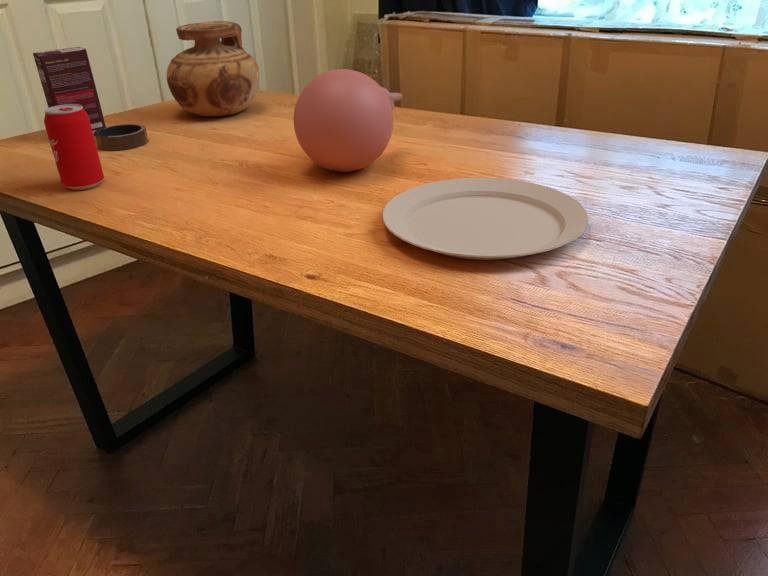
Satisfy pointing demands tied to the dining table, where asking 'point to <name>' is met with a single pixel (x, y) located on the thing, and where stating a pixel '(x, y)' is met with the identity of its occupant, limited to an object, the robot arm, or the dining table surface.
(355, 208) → the dining table surface
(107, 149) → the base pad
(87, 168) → the beverage can
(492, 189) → the plate
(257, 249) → the dining table surface
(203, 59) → the clay pot
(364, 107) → the balloon
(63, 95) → the supplement box
